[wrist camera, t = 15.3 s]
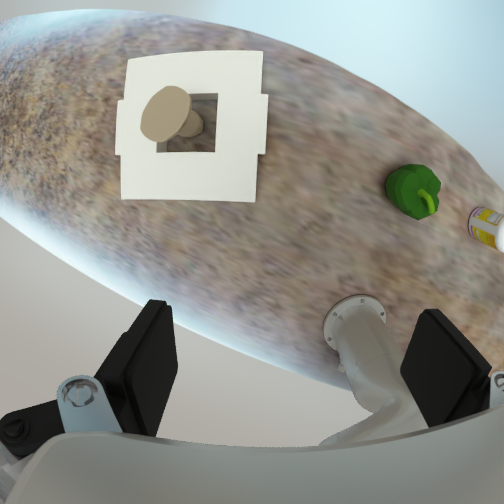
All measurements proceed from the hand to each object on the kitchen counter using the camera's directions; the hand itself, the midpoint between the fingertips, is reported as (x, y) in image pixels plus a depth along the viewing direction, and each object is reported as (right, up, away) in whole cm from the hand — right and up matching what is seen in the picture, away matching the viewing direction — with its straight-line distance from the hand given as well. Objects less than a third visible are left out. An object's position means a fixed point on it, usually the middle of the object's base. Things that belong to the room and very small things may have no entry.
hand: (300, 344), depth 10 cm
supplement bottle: (+44, +9, +34) cm, 56 cm away
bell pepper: (+23, +14, +33) cm, 43 cm away
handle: (-11, +23, +31) cm, 40 cm away
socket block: (-11, +23, +31) cm, 40 cm away
